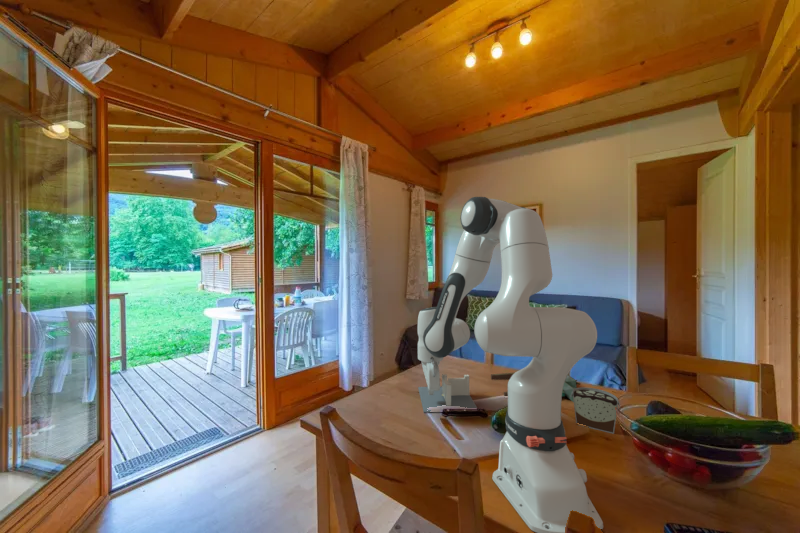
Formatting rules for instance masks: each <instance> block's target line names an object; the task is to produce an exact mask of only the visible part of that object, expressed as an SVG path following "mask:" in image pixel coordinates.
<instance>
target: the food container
mask: <svg viewBox="0 0 800 533" xmlns="http://www.w3.org/2000/svg"><path fill="white" fill-rule="evenodd" d="M572 396H573V401H574V402H573V406H574V414H575V424H576V423H579V424H583V425H586V426H588V427H589V429H593V430H598V431H602V432H605V433H608V434H613V435H614V434H615V428H616V422H617V421H616V420H617V415H616V410H615V407H617V408H618V406H619V408H621V404H620V401H619V399H618V397H617V396H616V395H614V394H613V393H611V392H608V391H606V390H602V389H599V388H593V387H584V386H583V387H577V388H576V389H574V390H573V392H572V394H571V397H572ZM588 427H587V428H588Z"/></svg>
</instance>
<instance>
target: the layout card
mask: <svg viewBox="0 0 800 533" xmlns="http://www.w3.org/2000/svg"><path fill="white" fill-rule="evenodd" d="M417 389H418V393H419V397H420V402H421V407H422V409H423V414H427V413H426V412H430V411H431V410H428V409H427V408H429V407H437V406H442V405H446V401H445V398H444V395H442V385H440V390H439V391H434V395H429V393H428V386H418V388H417ZM451 406H460V407H465V408H466V407H467V408H478V407H477V405H476V403H475V402H474V400H473V398H472V397H471V395H470V394H469V395H456V396H451ZM427 410H428V411H427Z"/></svg>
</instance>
